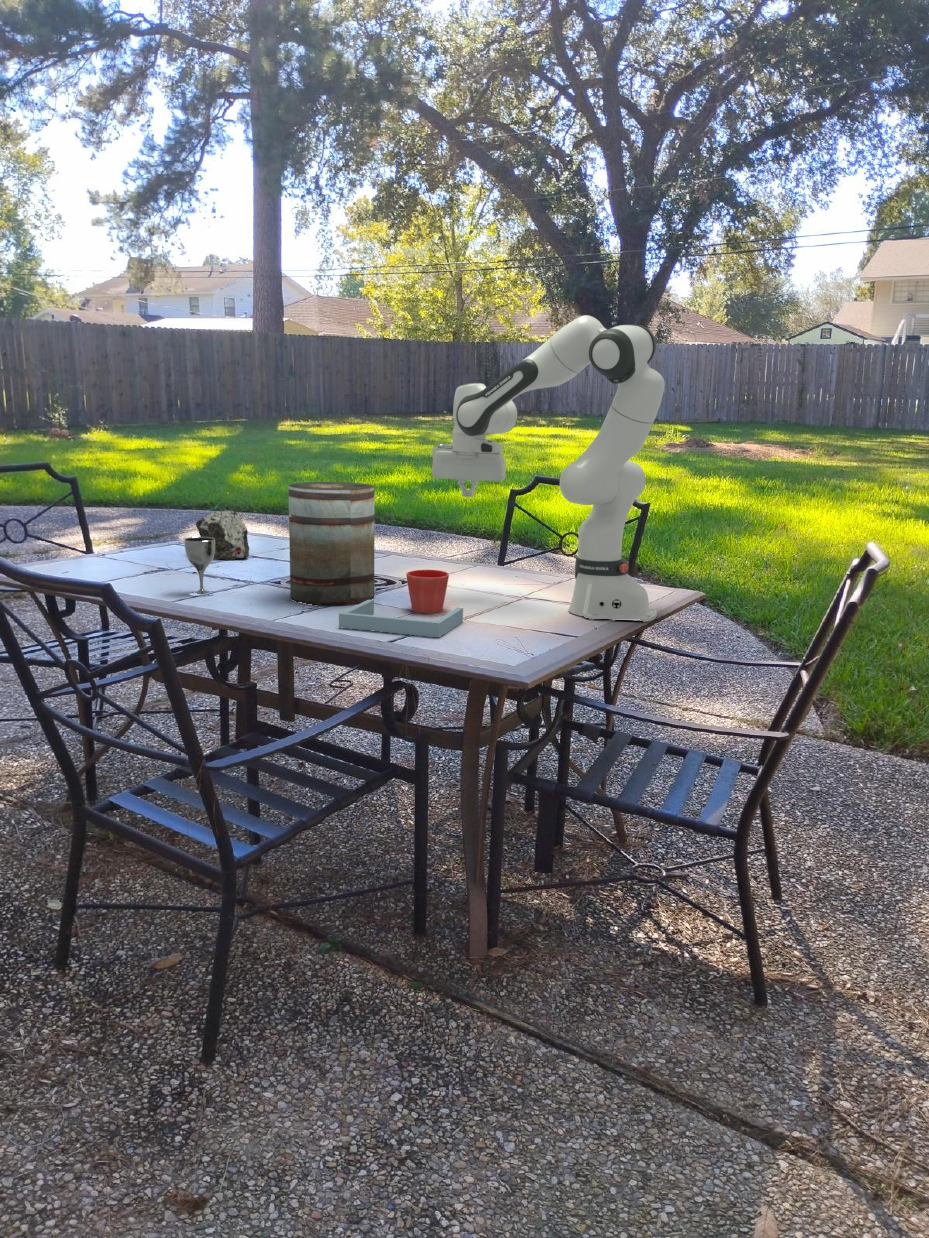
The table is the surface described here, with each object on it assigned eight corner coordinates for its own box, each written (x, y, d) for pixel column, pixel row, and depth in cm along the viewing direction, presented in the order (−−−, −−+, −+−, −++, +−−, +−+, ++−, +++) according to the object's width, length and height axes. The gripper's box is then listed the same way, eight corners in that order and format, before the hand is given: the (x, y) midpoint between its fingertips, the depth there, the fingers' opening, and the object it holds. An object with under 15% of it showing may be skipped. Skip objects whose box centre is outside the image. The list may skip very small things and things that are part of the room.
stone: (188, 568, 323) (188, 528, 315) (200, 539, 338) (200, 500, 330) (246, 575, 325) (247, 535, 316) (255, 546, 340) (256, 508, 331)
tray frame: (462, 622, 244) (463, 608, 243) (439, 638, 228) (439, 623, 227) (368, 613, 252) (368, 599, 251) (338, 628, 235) (338, 613, 234)
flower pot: (423, 617, 249) (424, 578, 247) (397, 609, 257) (398, 571, 255) (456, 611, 255) (457, 574, 253) (430, 604, 264) (431, 568, 261)
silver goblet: (203, 589, 276) (201, 535, 272) (223, 593, 271) (221, 538, 268) (180, 594, 269) (178, 539, 266) (200, 598, 265) (197, 542, 261)
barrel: (352, 586, 285) (351, 480, 278) (389, 601, 266) (389, 488, 259) (277, 593, 273) (275, 483, 266) (310, 609, 254) (309, 491, 248)
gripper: (428, 444, 268) (427, 495, 271) (502, 447, 262) (500, 499, 265) (436, 443, 274) (435, 493, 277) (508, 446, 268) (506, 497, 271)
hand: (467, 496), depth 271 cm, fingers closed
